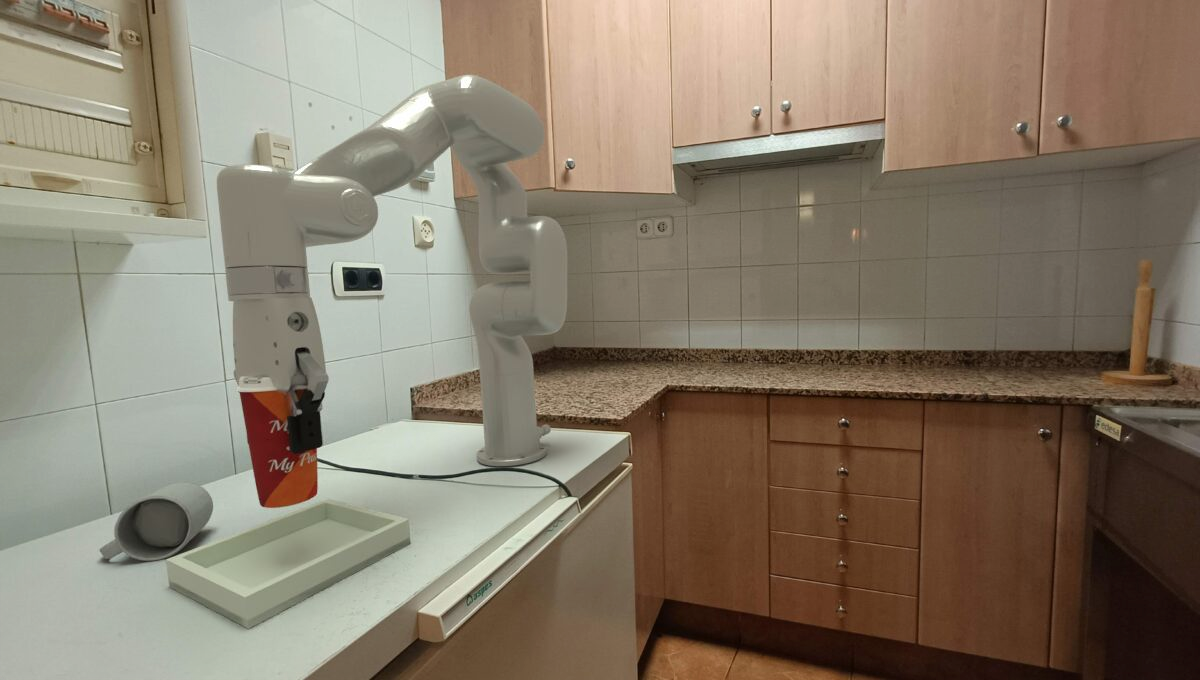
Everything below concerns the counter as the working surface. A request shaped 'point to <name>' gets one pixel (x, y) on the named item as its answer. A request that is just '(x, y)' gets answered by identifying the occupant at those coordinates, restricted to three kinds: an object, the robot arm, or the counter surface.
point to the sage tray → (285, 559)
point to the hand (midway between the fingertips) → (284, 445)
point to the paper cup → (275, 445)
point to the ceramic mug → (160, 522)
